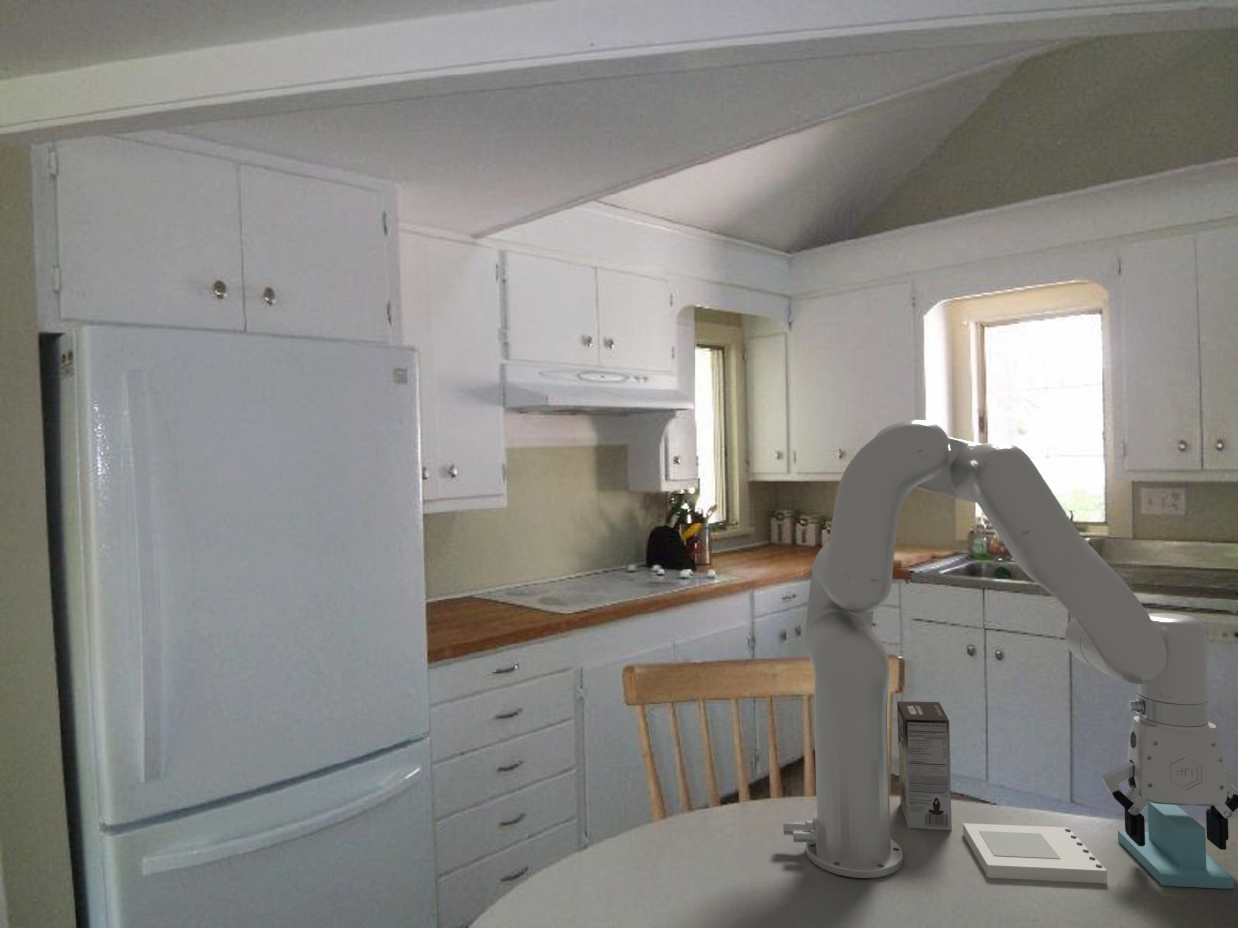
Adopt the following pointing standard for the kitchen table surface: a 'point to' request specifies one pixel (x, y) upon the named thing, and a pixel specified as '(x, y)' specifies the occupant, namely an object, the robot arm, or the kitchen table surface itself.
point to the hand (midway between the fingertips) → (1176, 842)
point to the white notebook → (1033, 853)
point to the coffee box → (924, 765)
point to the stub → (1176, 850)
